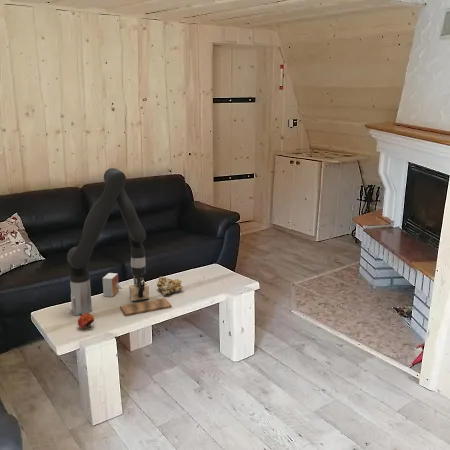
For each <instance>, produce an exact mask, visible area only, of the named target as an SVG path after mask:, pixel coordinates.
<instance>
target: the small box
mask: <svg viewBox="0 0 450 450" xmlns="http://www.w3.org/2000/svg"><path fill="white" fill-rule="evenodd" d="M102 290H103V291H102V292H103V296H104V297H112V298H113V297H114V296H115V295H117V293H119V291H120V289H119V274H118V273H113V272H108V273H107V274H106V275H105V276H103V277H102Z"/></svg>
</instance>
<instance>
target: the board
mask: <svg viewBox="0 0 450 450" xmlns="http://www.w3.org/2000/svg"><path fill="white" fill-rule="evenodd" d="M171 308H172V305H171V303H170V302H169V300H167V298H166V297H163V298H158V299H151V300H146V301H142V302H136V303H135V302H134V303H131V304H130V303H129V304H124V305H120V306H119V309H120V310H121V313H122V314H123V315H124V317H129V316H134V315H139V314H145V313H149V312H151V313H152V312H156V311H159V310H165V309H171Z"/></svg>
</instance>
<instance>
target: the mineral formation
mask: <svg viewBox="0 0 450 450" xmlns="http://www.w3.org/2000/svg"><path fill="white" fill-rule="evenodd" d="M182 282H183V281H182V280H180V279H177V278H176V279H172V278H169V277H166V276H159V277H158V281H157V283H156V288H157V287H158V289H159V290H160V289H161V294H162V295H163V296H164V297H165V296H167V295H171V294H172V293H176V292H180V290H182V289H184V286H182Z"/></svg>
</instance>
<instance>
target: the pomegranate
mask: <svg viewBox="0 0 450 450" xmlns="http://www.w3.org/2000/svg"><path fill="white" fill-rule="evenodd" d="M94 317H95V316H94V315H93V314H91V313H89V314H88V313H85V314H83V315H82V314H81V313H80V315H79V318H78V319H77V325H78V328H80V329H82V330H83V329H86V328H87V327H89V328H90V330H93V329H92V327H91V325H92V324H93V323H94V322H95V318H94Z"/></svg>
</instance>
